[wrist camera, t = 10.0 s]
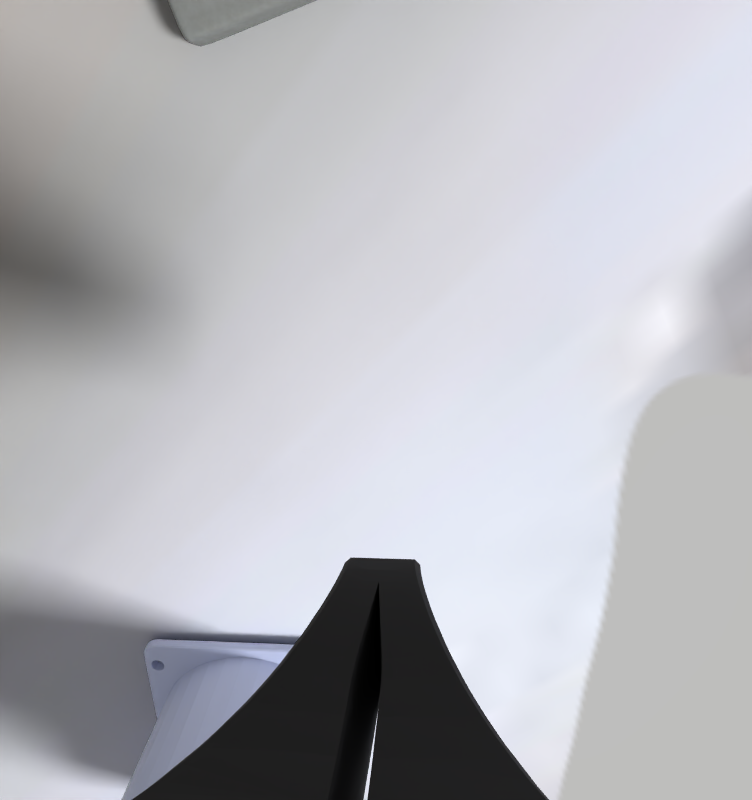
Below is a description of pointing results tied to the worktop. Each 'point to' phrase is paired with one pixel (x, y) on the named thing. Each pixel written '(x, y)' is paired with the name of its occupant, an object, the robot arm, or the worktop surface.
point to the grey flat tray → (225, 16)
